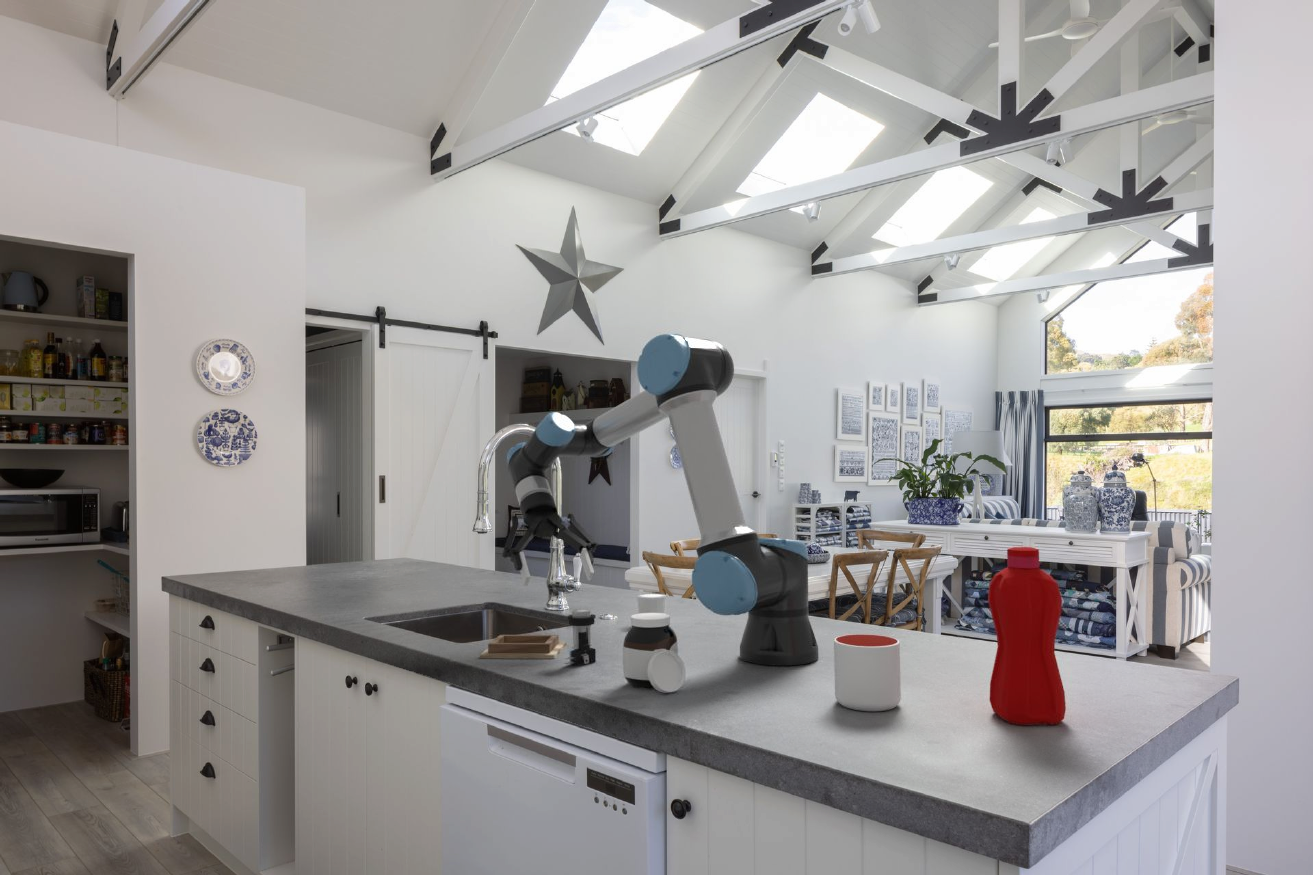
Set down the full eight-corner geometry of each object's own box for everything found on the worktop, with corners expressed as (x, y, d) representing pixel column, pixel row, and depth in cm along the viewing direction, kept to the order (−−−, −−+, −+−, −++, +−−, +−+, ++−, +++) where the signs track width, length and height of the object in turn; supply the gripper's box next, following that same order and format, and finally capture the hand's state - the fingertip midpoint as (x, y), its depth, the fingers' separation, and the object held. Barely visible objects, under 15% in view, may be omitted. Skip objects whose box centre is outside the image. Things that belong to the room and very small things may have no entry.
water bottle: (1038, 705, 135) (1034, 542, 136) (1074, 727, 124) (1069, 549, 125) (979, 706, 135) (975, 543, 135) (1009, 728, 124) (1004, 550, 124)
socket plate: (554, 658, 172) (554, 646, 172) (479, 658, 173) (479, 645, 173) (566, 644, 185) (566, 633, 185) (496, 644, 186) (496, 633, 186)
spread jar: (646, 674, 158) (646, 609, 158) (702, 681, 152) (701, 614, 153) (610, 690, 148) (609, 620, 148) (669, 698, 142) (668, 626, 142)
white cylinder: (666, 627, 202) (666, 597, 203) (636, 628, 202) (636, 597, 203) (666, 622, 209) (666, 592, 209) (637, 622, 209) (637, 593, 209)
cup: (889, 717, 130) (888, 649, 130) (825, 708, 135) (824, 642, 135) (909, 701, 138) (907, 637, 139) (848, 693, 144) (846, 631, 144)
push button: (573, 669, 163) (572, 615, 163) (556, 664, 167) (556, 611, 167) (601, 663, 167) (601, 610, 168) (584, 658, 171) (584, 607, 172)
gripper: (585, 511, 199) (611, 585, 185) (476, 515, 188) (495, 595, 174) (593, 488, 194) (621, 563, 180) (482, 491, 183) (502, 571, 170)
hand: (559, 579), depth 177 cm, fingers open, 13 cm apart
